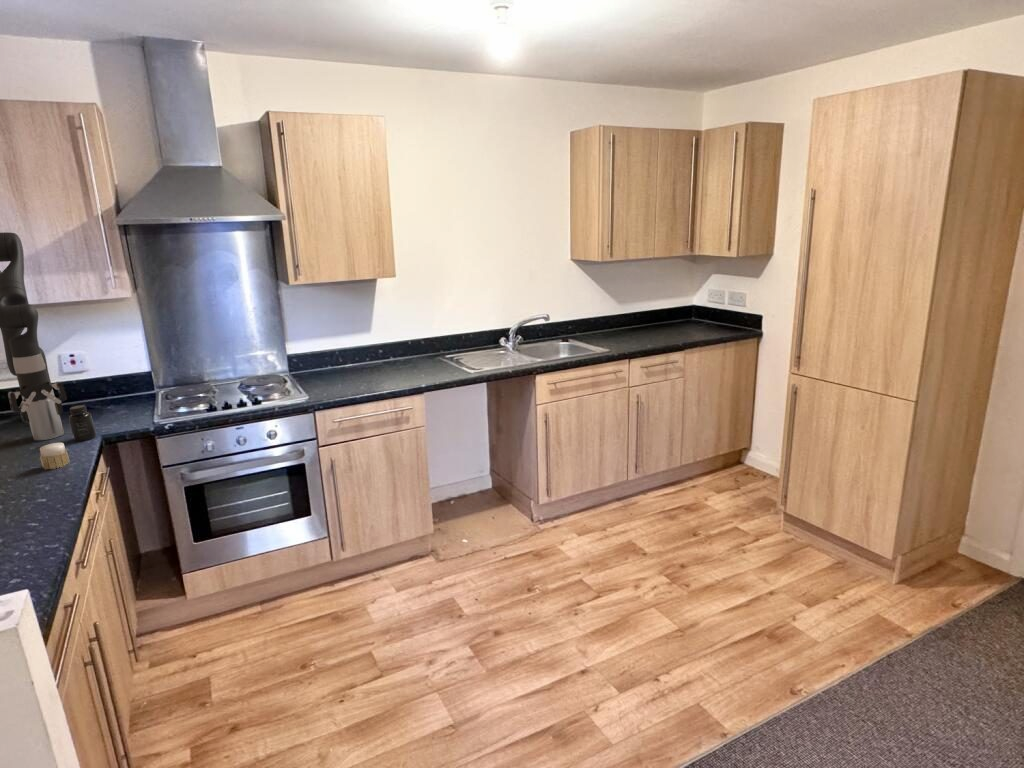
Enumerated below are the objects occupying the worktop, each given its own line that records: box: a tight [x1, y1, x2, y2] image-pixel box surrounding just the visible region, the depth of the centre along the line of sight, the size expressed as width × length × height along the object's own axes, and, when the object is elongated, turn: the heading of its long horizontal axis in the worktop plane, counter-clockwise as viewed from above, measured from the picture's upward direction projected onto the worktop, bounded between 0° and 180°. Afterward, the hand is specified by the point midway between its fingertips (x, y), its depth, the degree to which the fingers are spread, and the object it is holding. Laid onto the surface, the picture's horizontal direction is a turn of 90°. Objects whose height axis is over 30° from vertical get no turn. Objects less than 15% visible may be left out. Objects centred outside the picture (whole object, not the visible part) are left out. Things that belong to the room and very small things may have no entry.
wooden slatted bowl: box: [39, 449, 71, 470], centre depth 199 cm, size 7×7×4 cm
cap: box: [39, 442, 67, 457], centre depth 199 cm, size 6×6×5 cm
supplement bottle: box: [68, 404, 97, 442], centre depth 222 cm, size 7×7×12 cm
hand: (43, 418), depth 195 cm, fingers open, 8 cm apart
